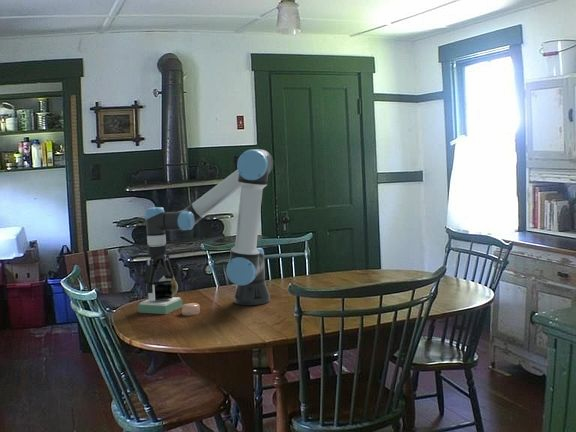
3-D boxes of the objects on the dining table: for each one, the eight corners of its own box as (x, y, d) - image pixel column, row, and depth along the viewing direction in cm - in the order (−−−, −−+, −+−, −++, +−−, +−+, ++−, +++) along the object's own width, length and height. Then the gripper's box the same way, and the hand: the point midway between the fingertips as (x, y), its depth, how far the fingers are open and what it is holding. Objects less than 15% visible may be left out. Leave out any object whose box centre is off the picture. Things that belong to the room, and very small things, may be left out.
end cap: (170, 295, 291) (169, 279, 290) (173, 298, 285) (172, 282, 284) (146, 297, 288) (145, 281, 287) (149, 301, 281) (148, 284, 281)
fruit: (182, 296, 310) (181, 270, 308) (165, 300, 303) (163, 273, 302) (169, 294, 317) (167, 268, 316) (151, 298, 310) (150, 271, 309)
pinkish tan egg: (202, 312, 280) (202, 303, 280) (194, 316, 273) (193, 307, 273) (187, 311, 283) (187, 302, 282) (178, 315, 276) (178, 306, 276)
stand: (182, 306, 290) (182, 297, 290) (165, 314, 278) (165, 304, 278) (156, 305, 295) (155, 295, 295) (138, 312, 283) (137, 302, 283)
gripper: (164, 240, 296) (167, 290, 299) (132, 249, 274) (135, 303, 277) (179, 241, 294) (183, 291, 296) (148, 249, 272) (151, 304, 274)
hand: (160, 297), depth 286 cm, fingers closed on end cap, 11 cm apart
